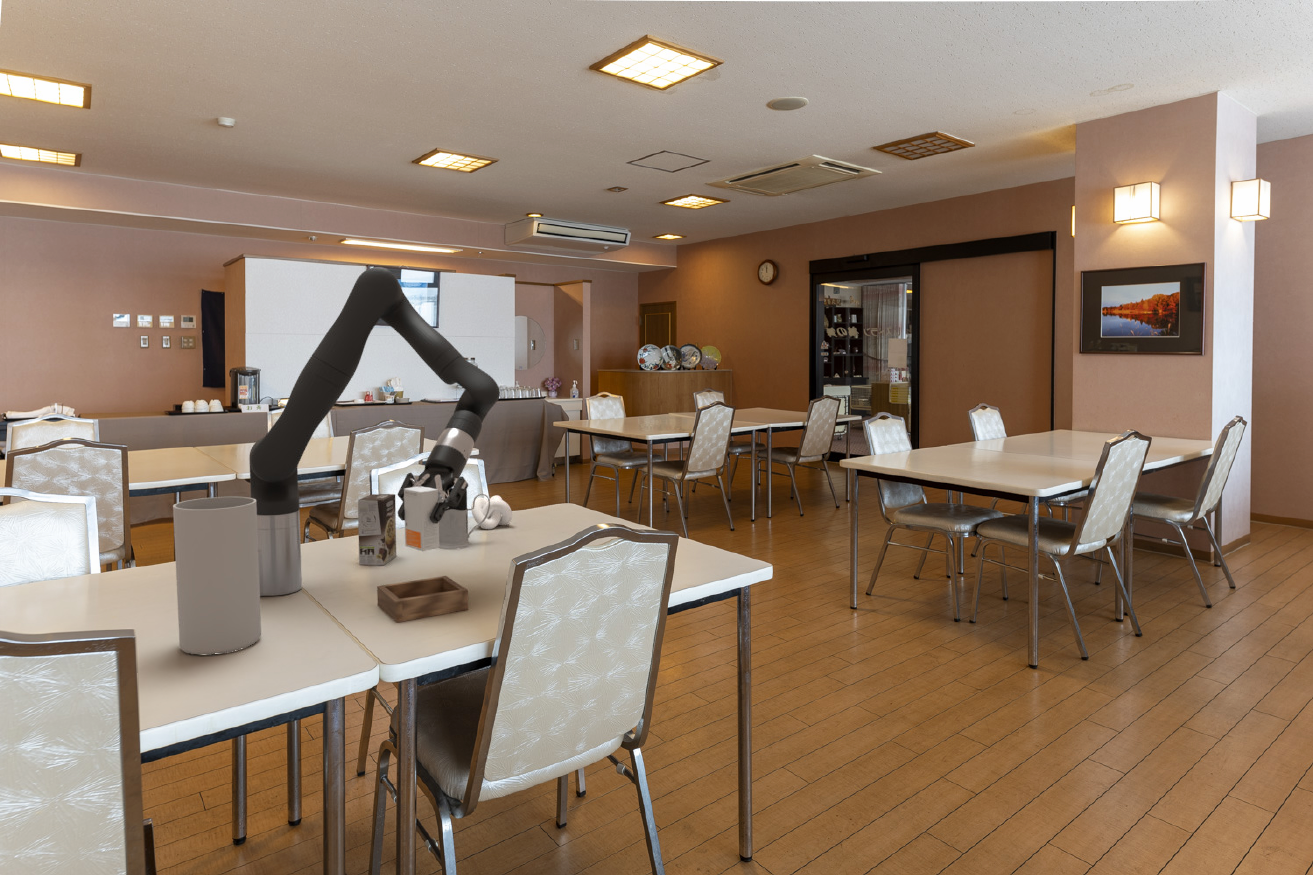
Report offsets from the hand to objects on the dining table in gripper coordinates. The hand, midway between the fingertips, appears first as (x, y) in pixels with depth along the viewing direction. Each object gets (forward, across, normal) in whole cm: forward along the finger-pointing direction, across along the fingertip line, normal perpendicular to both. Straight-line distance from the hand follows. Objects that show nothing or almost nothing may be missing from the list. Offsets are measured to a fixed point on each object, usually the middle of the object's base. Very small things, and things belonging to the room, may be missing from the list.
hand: (417, 519), depth 156 cm
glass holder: (-22, -23, +49) cm, 58 cm away
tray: (+12, 0, +14) cm, 18 cm away
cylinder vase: (+33, -20, -7) cm, 40 cm away
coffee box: (-7, -32, +33) cm, 47 cm away
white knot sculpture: (-38, -27, +65) cm, 80 cm away
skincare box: (+3, 0, +5) cm, 6 cm away
